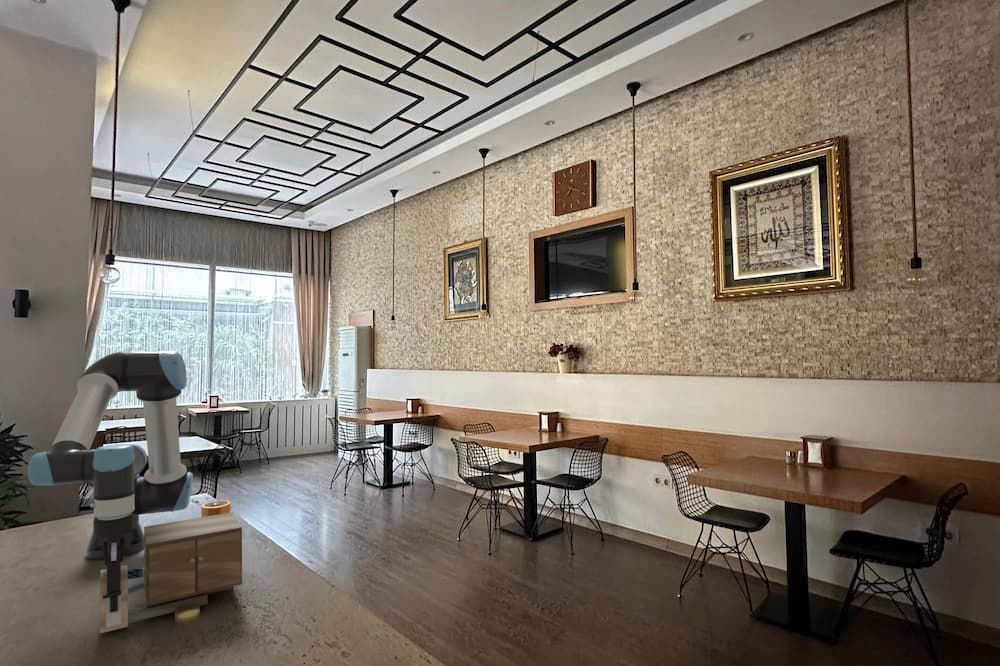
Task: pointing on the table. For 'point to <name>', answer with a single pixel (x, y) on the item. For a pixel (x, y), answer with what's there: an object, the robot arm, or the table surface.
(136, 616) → the blade tool
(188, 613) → the token
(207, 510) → the battery
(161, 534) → the cabinet
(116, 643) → the table surface
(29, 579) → the table surface
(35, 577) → the table surface
